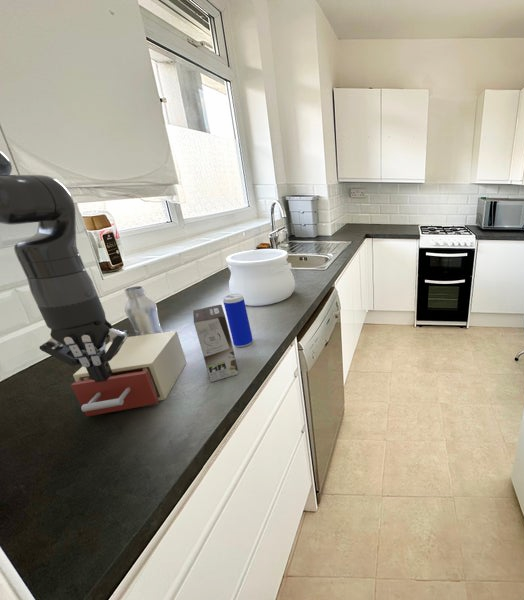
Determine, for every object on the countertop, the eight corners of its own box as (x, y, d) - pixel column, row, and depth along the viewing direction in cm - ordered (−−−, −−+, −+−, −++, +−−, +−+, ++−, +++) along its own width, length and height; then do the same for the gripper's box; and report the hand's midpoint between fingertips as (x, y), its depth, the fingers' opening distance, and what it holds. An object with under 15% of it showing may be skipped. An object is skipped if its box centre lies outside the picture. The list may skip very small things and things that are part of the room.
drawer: (147, 419, 63) (134, 387, 60) (70, 434, 59) (53, 401, 56) (178, 367, 80) (170, 340, 77) (121, 376, 77) (109, 348, 74)
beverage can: (256, 340, 94) (247, 293, 89) (245, 348, 90) (234, 300, 84) (242, 338, 95) (231, 292, 90) (230, 346, 91) (218, 299, 85)
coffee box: (239, 374, 78) (225, 316, 72) (210, 382, 75) (192, 322, 69) (235, 357, 85) (222, 303, 79) (208, 364, 82) (192, 309, 76)
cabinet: (165, 399, 70) (151, 363, 66) (90, 413, 66) (72, 375, 62) (186, 362, 84) (176, 330, 80) (126, 371, 80) (112, 338, 76)
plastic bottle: (140, 356, 87) (115, 288, 79) (170, 347, 91) (148, 282, 83) (143, 365, 82) (117, 295, 75) (174, 356, 86) (151, 288, 79)
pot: (308, 288, 137) (303, 248, 130) (278, 310, 115) (270, 264, 108) (254, 285, 141) (247, 247, 135) (216, 306, 119) (204, 261, 112)
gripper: (123, 286, 60) (150, 363, 66) (35, 294, 56) (73, 374, 63) (101, 300, 53) (134, 384, 60) (0, 310, 49) (47, 398, 56)
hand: (103, 379), depth 61 cm, fingers closed
